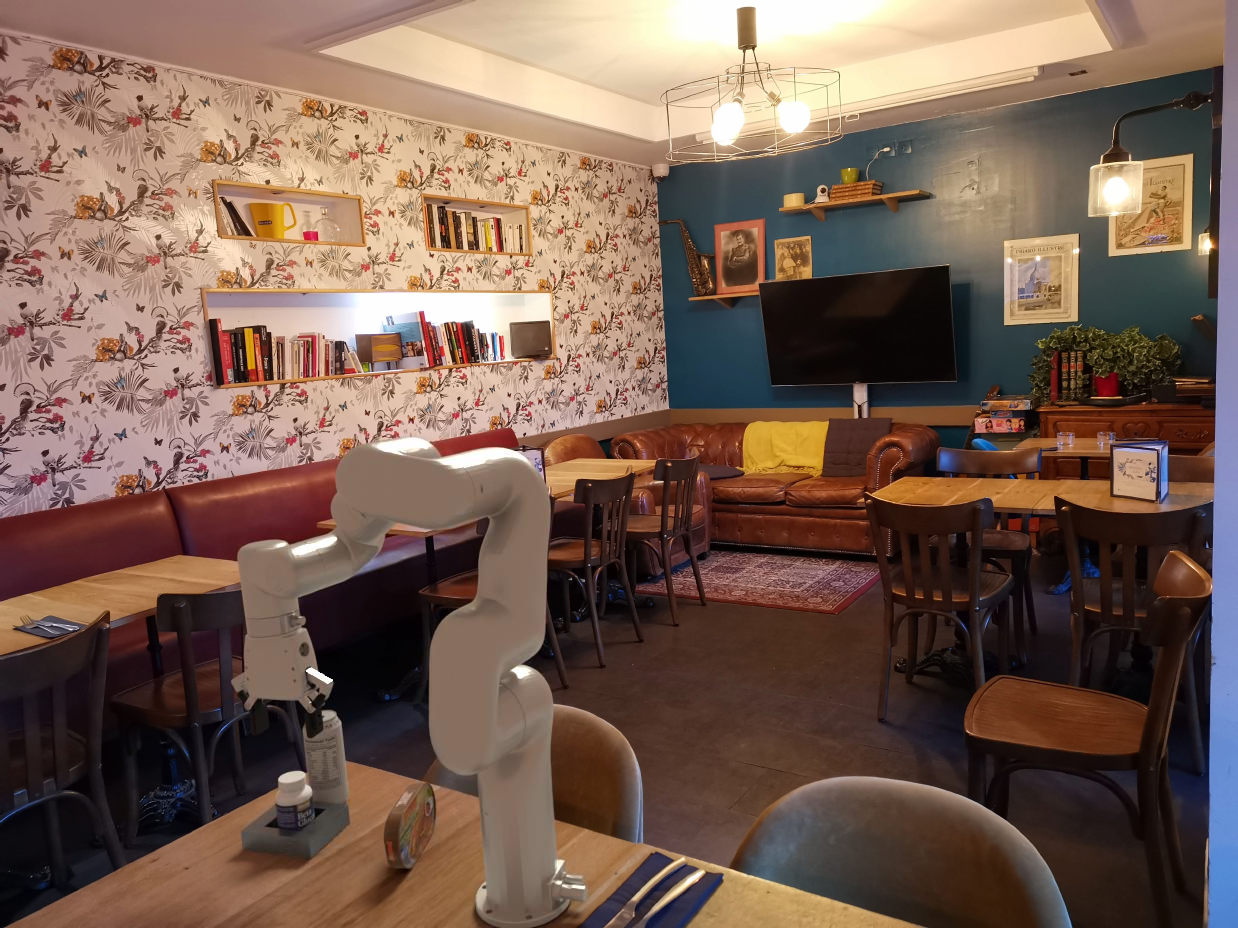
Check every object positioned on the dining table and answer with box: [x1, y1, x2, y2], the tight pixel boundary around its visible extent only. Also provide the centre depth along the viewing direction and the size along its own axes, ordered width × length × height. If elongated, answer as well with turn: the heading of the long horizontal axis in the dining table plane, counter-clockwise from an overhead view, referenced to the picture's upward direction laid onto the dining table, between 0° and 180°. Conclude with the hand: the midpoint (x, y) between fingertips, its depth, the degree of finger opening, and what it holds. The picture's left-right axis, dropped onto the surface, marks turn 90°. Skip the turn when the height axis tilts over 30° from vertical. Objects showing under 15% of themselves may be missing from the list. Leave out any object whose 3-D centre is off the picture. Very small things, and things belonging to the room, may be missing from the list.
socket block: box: [240, 801, 351, 859], centre depth 137 cm, size 12×10×3 cm
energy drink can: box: [302, 709, 350, 805], centre depth 146 cm, size 6×6×15 cm
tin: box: [383, 781, 437, 870], centre depth 131 cm, size 15×3×8 cm, turn 173°
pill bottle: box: [274, 770, 315, 831], centre depth 137 cm, size 5×5×10 cm
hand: (288, 732), depth 135 cm, fingers open, 9 cm apart
